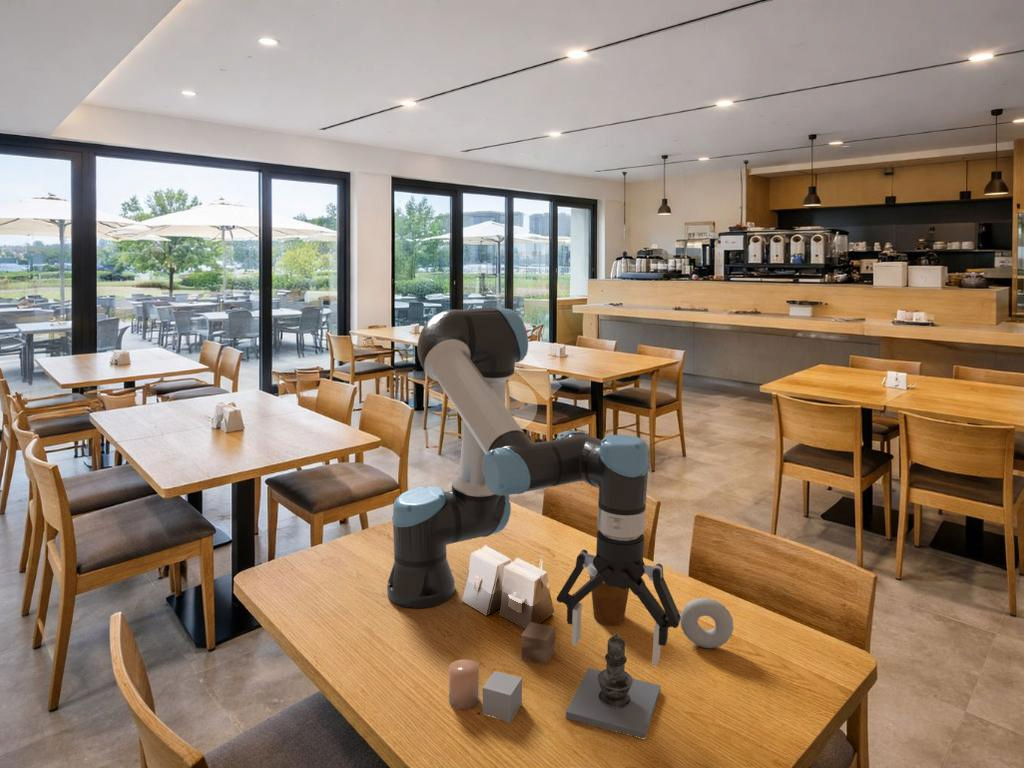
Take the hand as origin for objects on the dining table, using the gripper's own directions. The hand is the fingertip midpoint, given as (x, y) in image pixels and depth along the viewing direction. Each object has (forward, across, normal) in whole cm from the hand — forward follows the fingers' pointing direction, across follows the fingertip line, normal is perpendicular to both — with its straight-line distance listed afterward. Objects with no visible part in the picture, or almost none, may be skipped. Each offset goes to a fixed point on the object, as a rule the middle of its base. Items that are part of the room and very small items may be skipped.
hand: (615, 651), depth 111 cm
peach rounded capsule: (+10, -24, -9) cm, 27 cm away
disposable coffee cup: (+10, -8, +27) cm, 30 cm away
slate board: (+10, 0, 0) cm, 10 cm away
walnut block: (+10, -17, +8) cm, 21 cm away
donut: (+10, +12, +24) cm, 29 cm away
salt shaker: (+9, 0, 0) cm, 9 cm away
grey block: (+10, -17, -9) cm, 21 cm away
